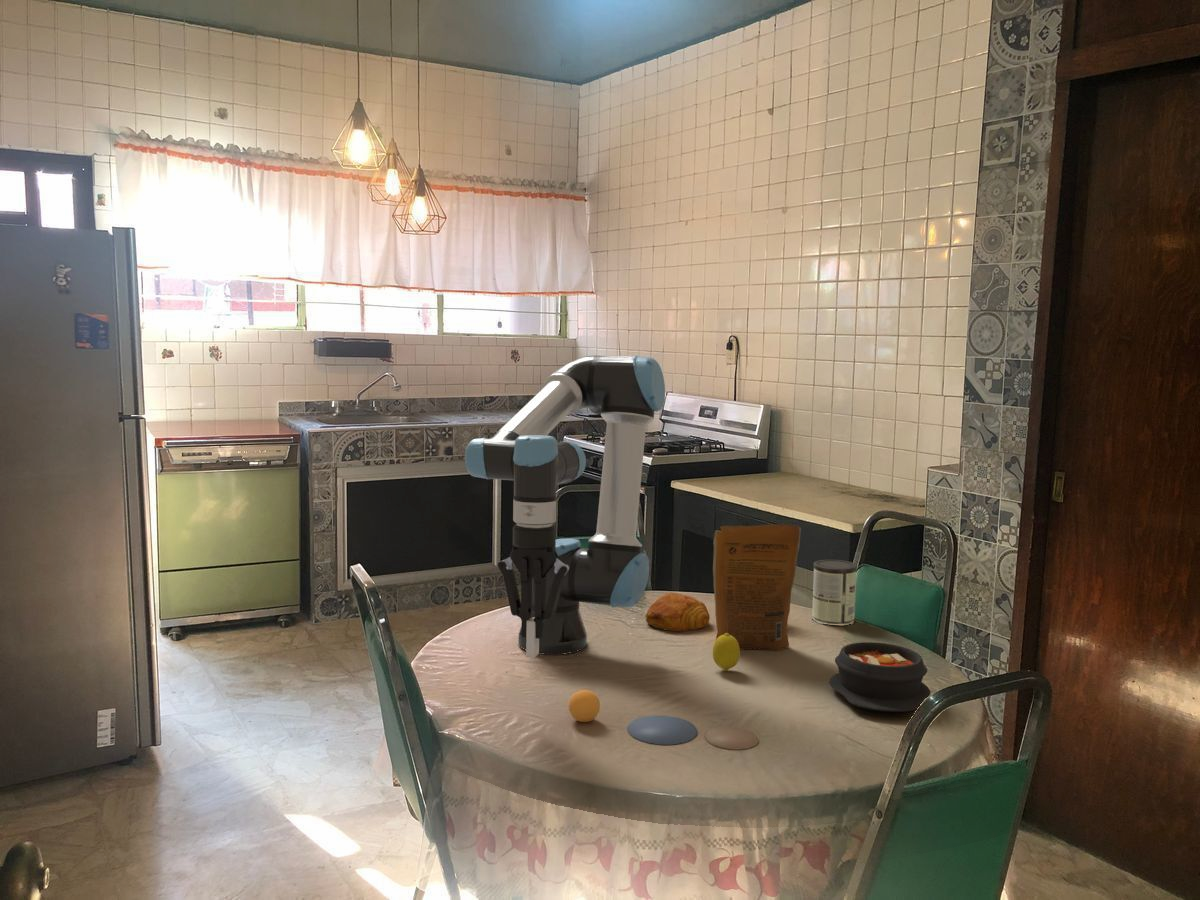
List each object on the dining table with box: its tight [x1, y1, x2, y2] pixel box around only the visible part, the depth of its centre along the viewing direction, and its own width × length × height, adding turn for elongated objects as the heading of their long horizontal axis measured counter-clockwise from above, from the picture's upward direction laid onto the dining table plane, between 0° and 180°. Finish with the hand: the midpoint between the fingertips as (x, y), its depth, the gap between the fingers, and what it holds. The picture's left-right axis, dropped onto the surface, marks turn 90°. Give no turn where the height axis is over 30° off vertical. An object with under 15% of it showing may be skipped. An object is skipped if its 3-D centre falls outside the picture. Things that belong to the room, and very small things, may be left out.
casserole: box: [829, 641, 932, 713], centre depth 178 cm, size 25×19×8 cm
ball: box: [568, 689, 601, 723], centre depth 164 cm, size 6×6×6 cm
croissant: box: [644, 592, 711, 633], centre depth 223 cm, size 14×16×8 cm
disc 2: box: [704, 726, 760, 751], centre depth 158 cm, size 9×9×1 cm
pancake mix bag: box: [712, 524, 802, 651], centre depth 205 cm, size 7×19×28 cm, turn 87°
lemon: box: [712, 633, 741, 672], centre depth 190 cm, size 6×6×8 cm
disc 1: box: [627, 714, 698, 746], centre depth 161 cm, size 12×12×1 cm
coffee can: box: [811, 559, 858, 624], centre depth 227 cm, size 10×10×14 cm
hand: (532, 655), depth 165 cm, fingers closed
